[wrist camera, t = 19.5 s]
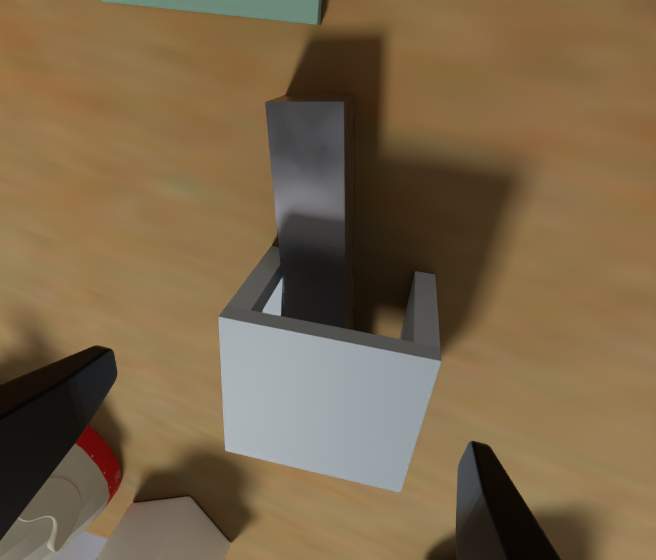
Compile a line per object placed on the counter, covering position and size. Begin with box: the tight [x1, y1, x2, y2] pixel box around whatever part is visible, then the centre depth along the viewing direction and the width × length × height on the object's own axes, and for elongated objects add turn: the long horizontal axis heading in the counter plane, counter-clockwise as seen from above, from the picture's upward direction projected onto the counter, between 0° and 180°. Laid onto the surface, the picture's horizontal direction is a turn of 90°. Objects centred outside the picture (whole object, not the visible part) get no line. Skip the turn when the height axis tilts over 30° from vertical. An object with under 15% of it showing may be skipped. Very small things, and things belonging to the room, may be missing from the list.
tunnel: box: [219, 246, 441, 493], centre depth 20 cm, size 8×8×7 cm
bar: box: [265, 94, 354, 330], centre depth 21 cm, size 3×20×3 cm, turn 2°
